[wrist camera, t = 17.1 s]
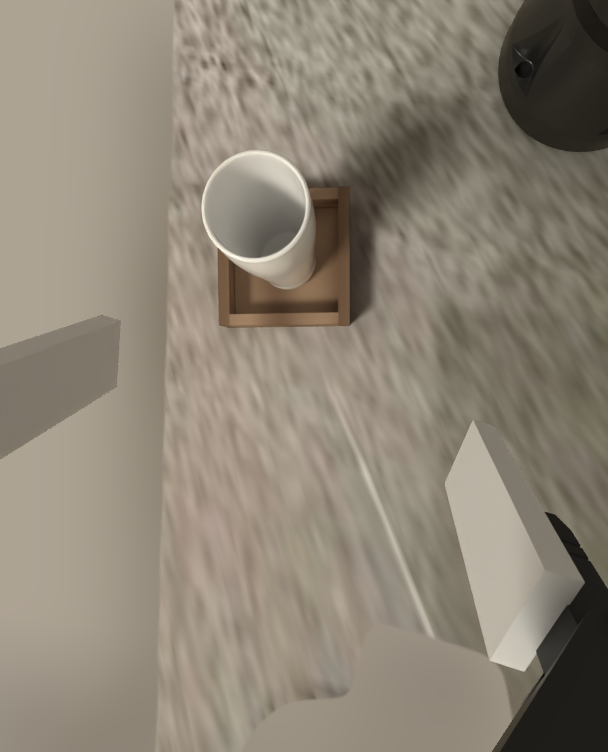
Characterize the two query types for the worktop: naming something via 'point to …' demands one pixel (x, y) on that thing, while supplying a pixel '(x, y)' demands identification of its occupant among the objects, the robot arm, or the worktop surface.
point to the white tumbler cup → (262, 217)
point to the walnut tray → (311, 300)
